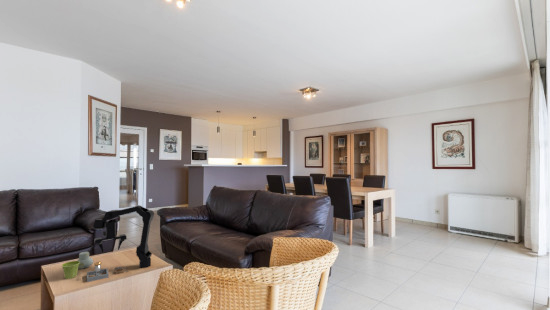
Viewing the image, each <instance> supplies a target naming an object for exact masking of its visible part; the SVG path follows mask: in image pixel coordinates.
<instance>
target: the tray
mask: <svg viewBox="0 0 550 310" xmlns="http://www.w3.org/2000/svg"><path fill="white" fill-rule="evenodd" d="M108 270H109V269H108V267H107V268H101V275H98V276H95V270H91V271H87V272H86V283H90V282H93V281H94V282H95V281H98V280H103V279H107V278H109V275H110V274H109V273H110V272H109V271H108ZM104 273H105V274H104Z"/></svg>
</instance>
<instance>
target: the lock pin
mask: <svg viewBox="0 0 550 310" xmlns="http://www.w3.org/2000/svg"><path fill="white" fill-rule="evenodd" d="M93 265H94V271H95V275H94V276H98V275H102V273H101V269H102V267H101V265H102V261H96V262H93Z"/></svg>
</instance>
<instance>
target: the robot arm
mask: <svg viewBox="0 0 550 310" xmlns="http://www.w3.org/2000/svg"><path fill="white" fill-rule="evenodd" d="M132 213H137V214H138V215H139V216H140V217H141V218H142V223H143V224H142V231H141V237H140V243H139V245H138V246H136V251H135V255H136V257H137V258H138V261H139V263H138V266H139V269H146V268H149V267H151V266H152V261H151V260H152V258H151V257H152V255H153V253H152V252H151V251H150V250H149V248H150V247H149V243H148V242H149V236H150V235H149V234H150V228H151V223H152V221H153V219H154V217H155V212H154V211H153V210H151V209H148V208H146V207H143V206H142V205H136V206H131V207H127V208H122V209H112V210H109V211H105V213H104V216H103V217H102V218H101V219H99V218H96V219H95V220H94V222H93V225H92V229H93V230H104V231H102V237H103V238H102V237H96V238H94V245H96V246H99V248H100V250H101V253H102V254H104V248H103V247H104V246H103V242H107V241H108V242H109V241H115V240H118V245H117V251H119V250H120V248H121V247H122V246H121V245H122V244H123V242H125V240H127V235H126V234H125V233H123V234H122V233H121V234H119V235H118V236H116V235H117V234H116V229H117V228H116V225H117V223H118V222H120V220H119V219H118V218H117V217H120V216H124V215H128V214H132ZM104 237H105V238H104Z"/></svg>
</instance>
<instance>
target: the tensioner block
mask: <svg viewBox="0 0 550 310" xmlns="http://www.w3.org/2000/svg"><path fill="white" fill-rule="evenodd" d="M128 272H129V270H128V267H127V266H124V267H123V266H117V267H115V268H114V269H109V273H110V274H109V275H110V276H111V277H112V276H116V275H120V274H126V273H128Z"/></svg>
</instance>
